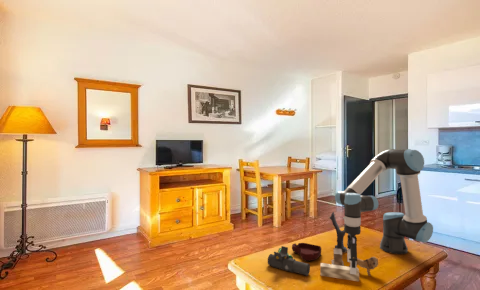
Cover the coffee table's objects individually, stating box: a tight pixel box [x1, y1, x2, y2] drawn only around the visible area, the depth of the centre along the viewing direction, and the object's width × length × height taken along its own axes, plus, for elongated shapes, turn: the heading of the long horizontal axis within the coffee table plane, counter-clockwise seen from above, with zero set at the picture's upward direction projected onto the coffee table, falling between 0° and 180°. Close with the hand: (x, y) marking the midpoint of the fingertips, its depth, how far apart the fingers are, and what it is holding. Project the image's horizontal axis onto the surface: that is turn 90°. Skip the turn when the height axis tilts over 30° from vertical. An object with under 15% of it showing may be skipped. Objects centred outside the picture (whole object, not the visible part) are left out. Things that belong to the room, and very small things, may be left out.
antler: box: [329, 211, 348, 254], centre depth 166 cm, size 12×8×25 cm
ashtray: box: [291, 242, 322, 262], centre depth 160 cm, size 18×16×5 cm
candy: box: [277, 247, 294, 259], centre depth 158 cm, size 12×3×4 cm
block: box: [319, 262, 360, 282], centre depth 135 cm, size 18×4×5 cm, turn 71°
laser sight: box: [267, 245, 311, 277], centre depth 142 cm, size 10×22×10 cm, turn 56°
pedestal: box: [331, 247, 345, 266], centre depth 146 cm, size 6×9×8 cm, turn 163°
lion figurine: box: [348, 256, 379, 277], centre depth 139 cm, size 15×5×9 cm, turn 62°
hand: (351, 267), depth 133 cm, fingers open, 13 cm apart
